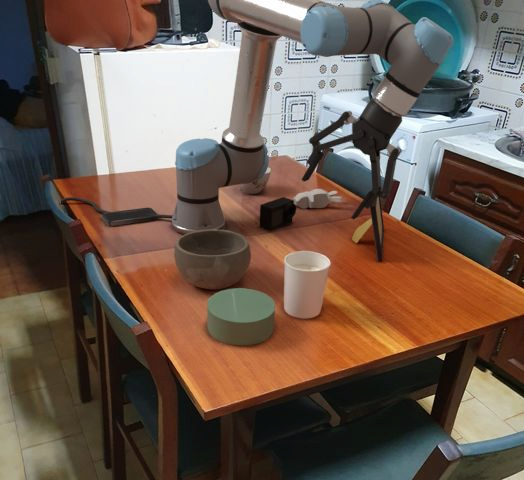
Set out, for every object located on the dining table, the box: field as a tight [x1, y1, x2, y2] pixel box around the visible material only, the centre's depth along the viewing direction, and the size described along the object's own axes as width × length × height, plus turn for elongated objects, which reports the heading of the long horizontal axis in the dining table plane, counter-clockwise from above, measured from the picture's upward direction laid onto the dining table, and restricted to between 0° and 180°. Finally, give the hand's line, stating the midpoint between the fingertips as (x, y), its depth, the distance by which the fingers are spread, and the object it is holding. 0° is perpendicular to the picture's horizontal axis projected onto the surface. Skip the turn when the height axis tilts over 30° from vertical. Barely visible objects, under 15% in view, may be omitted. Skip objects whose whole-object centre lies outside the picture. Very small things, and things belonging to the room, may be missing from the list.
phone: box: [101, 207, 159, 227], centre depth 160 cm, size 8×1×15 cm
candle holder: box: [283, 250, 331, 320], centre depth 119 cm, size 10×10×12 cm
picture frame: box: [351, 188, 385, 262], centre depth 151 cm, size 23×9×15 cm, turn 168°
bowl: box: [173, 229, 252, 290], centre depth 129 cm, size 17×18×10 cm
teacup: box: [237, 166, 272, 195], centre depth 185 cm, size 15×12×8 cm
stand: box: [206, 287, 276, 347], centre depth 113 cm, size 14×14×6 cm
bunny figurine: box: [292, 188, 344, 210], centre depth 176 cm, size 10×5×15 cm
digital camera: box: [258, 196, 297, 232], centre depth 160 cm, size 10×5×7 cm, turn 138°
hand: (329, 198), depth 118 cm, fingers open, 13 cm apart
